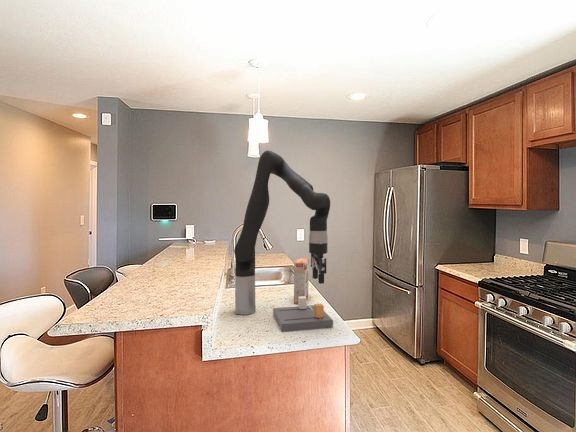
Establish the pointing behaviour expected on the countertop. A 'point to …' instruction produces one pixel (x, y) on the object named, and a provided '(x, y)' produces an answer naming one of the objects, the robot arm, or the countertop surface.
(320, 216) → the robot arm
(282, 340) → the countertop surface
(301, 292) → the cracker box
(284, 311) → the mixer console
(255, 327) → the countertop surface
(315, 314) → the block
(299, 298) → the white fader
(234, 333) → the countertop surface
